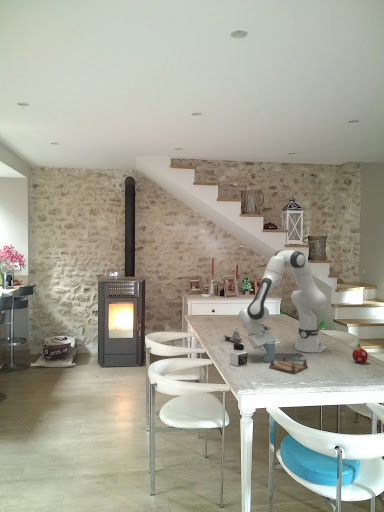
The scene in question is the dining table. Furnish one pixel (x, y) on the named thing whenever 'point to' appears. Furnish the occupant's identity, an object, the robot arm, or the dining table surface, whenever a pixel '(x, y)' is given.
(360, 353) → the christmas ornament
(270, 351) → the blue block
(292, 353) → the dining table surface
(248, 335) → the robot arm
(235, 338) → the sculpture
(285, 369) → the peg board
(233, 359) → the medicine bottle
